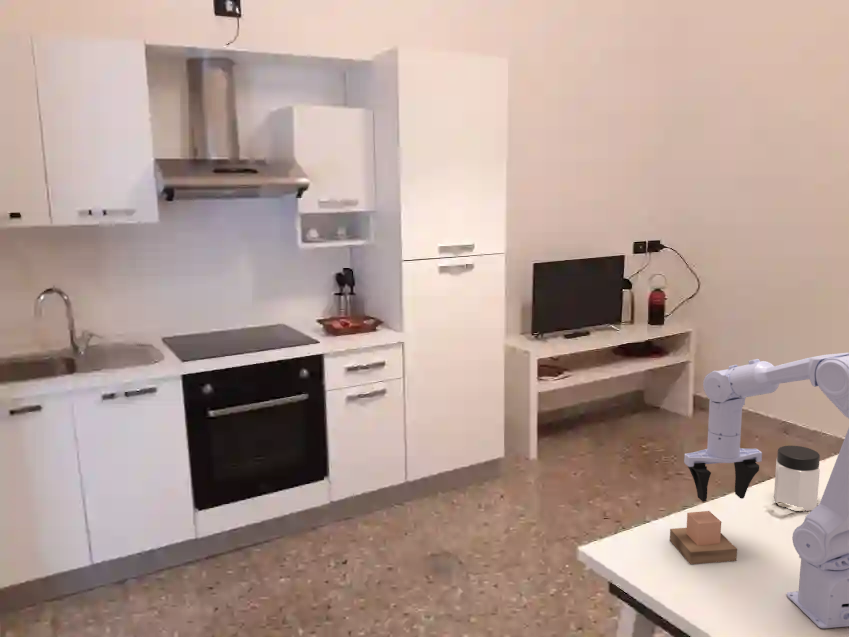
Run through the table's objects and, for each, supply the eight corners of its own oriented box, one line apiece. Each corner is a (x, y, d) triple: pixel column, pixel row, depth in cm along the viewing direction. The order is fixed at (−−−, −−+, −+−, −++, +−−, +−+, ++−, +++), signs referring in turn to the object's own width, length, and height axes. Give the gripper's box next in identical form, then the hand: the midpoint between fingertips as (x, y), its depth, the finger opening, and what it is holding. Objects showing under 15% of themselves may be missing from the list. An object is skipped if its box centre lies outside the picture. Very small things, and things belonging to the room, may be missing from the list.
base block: (736, 560, 131) (737, 548, 130) (690, 564, 130) (690, 552, 129) (713, 537, 139) (713, 525, 139) (669, 540, 139) (670, 528, 138)
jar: (824, 504, 152) (828, 452, 149) (808, 516, 146) (812, 463, 144) (782, 491, 158) (785, 441, 156) (765, 502, 153) (769, 451, 151)
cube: (720, 543, 132) (721, 521, 131) (697, 545, 132) (698, 523, 131) (708, 531, 137) (709, 510, 136) (686, 533, 136) (687, 512, 135)
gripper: (749, 421, 136) (745, 486, 138) (678, 426, 134) (675, 491, 137) (770, 434, 129) (765, 502, 131) (695, 439, 127) (692, 507, 130)
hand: (720, 497), depth 134 cm, fingers open, 7 cm apart
